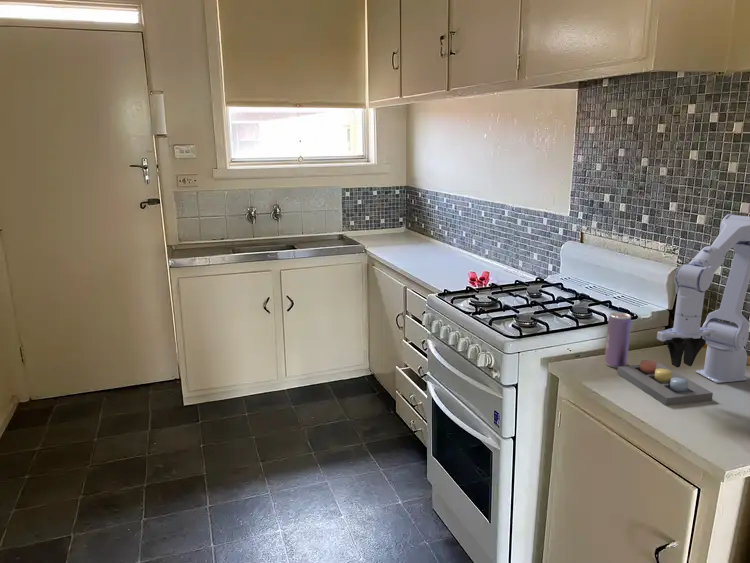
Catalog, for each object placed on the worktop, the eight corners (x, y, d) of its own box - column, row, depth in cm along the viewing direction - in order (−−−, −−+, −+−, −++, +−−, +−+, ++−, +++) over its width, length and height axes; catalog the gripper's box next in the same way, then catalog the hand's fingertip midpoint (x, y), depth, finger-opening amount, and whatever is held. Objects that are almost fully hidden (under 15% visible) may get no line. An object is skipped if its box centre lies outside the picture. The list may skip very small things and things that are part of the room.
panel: (658, 369, 161) (659, 362, 161) (711, 400, 142) (712, 393, 142) (616, 373, 159) (617, 366, 158) (665, 405, 140) (666, 398, 139)
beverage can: (628, 369, 162) (633, 318, 158) (606, 367, 163) (611, 317, 159) (624, 361, 167) (629, 312, 164) (602, 359, 169) (607, 311, 165)
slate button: (680, 384, 147) (681, 376, 146) (691, 391, 143) (692, 383, 142) (666, 386, 146) (667, 378, 145) (677, 392, 142) (678, 384, 142)
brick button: (649, 366, 158) (650, 359, 157) (659, 372, 154) (660, 365, 154) (636, 368, 157) (637, 360, 157) (646, 373, 153) (646, 366, 153)
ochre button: (664, 375, 152) (665, 367, 152) (674, 381, 148) (675, 373, 148) (650, 376, 152) (651, 369, 151) (661, 383, 148) (661, 375, 147)
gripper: (673, 320, 134) (667, 374, 138) (726, 316, 137) (719, 368, 140) (653, 312, 141) (648, 363, 144) (704, 307, 144) (698, 358, 147)
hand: (681, 365), depth 143 cm, fingers open, 3 cm apart
